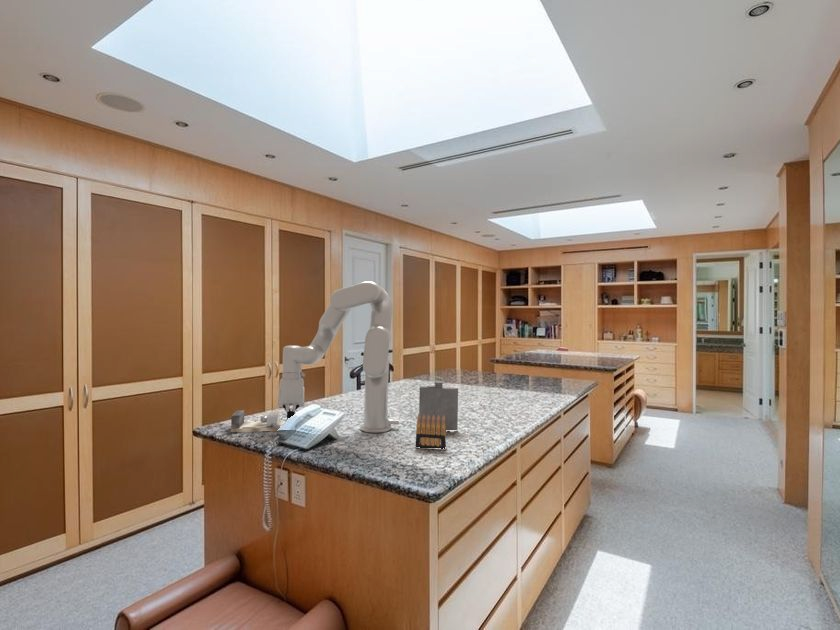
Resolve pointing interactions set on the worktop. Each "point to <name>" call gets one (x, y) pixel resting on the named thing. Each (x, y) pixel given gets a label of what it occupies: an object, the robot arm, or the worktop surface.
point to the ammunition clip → (430, 433)
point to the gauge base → (249, 424)
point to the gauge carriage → (271, 419)
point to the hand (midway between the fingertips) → (290, 420)
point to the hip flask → (439, 404)
